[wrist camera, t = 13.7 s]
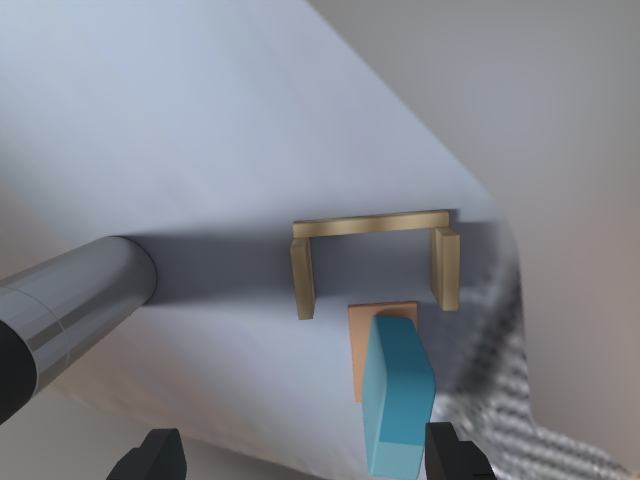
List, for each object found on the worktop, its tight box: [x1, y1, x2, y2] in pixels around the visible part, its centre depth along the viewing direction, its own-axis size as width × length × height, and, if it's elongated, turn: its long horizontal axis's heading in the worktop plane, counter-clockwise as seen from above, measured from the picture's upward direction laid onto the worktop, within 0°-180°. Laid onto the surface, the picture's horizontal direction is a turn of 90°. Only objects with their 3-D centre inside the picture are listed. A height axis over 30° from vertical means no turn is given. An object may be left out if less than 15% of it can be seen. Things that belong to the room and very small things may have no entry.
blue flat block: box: [362, 315, 435, 480], centre depth 36 cm, size 12×4×12 cm, turn 176°
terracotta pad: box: [348, 301, 418, 402], centre depth 43 cm, size 8×14×1 cm, turn 6°
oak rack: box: [290, 209, 460, 320], centre depth 37 cm, size 16×10×5 cm, turn 96°
